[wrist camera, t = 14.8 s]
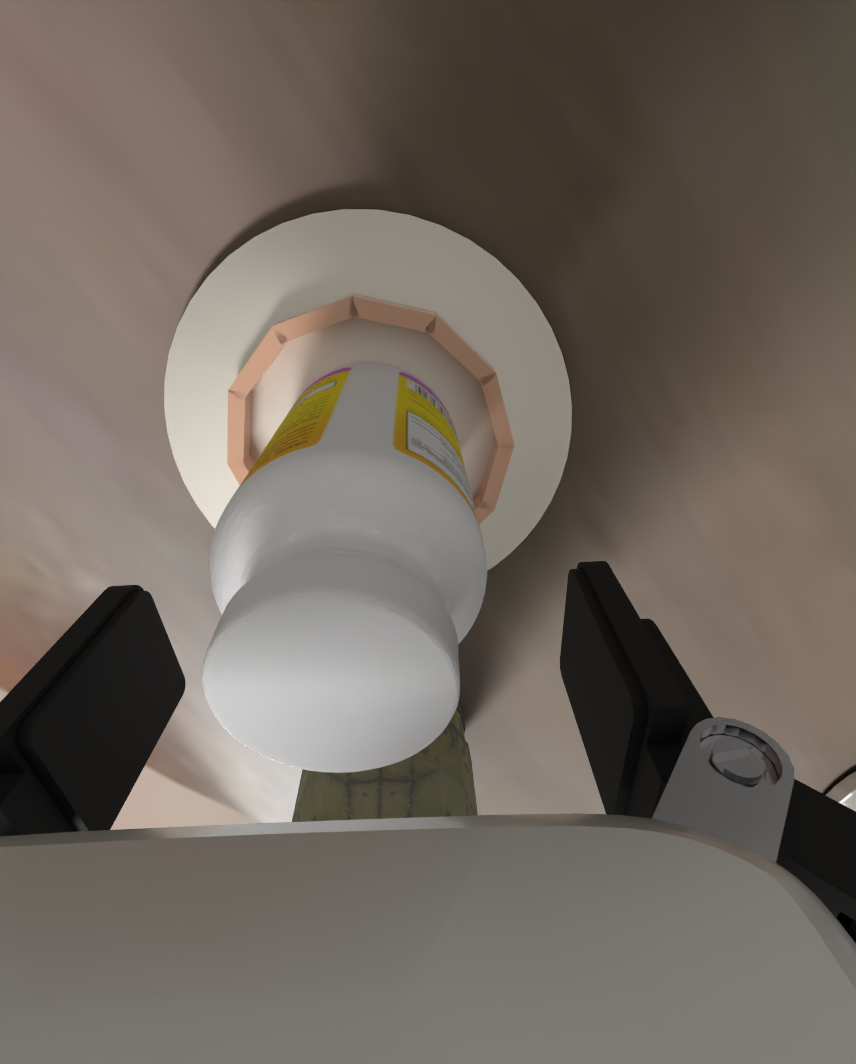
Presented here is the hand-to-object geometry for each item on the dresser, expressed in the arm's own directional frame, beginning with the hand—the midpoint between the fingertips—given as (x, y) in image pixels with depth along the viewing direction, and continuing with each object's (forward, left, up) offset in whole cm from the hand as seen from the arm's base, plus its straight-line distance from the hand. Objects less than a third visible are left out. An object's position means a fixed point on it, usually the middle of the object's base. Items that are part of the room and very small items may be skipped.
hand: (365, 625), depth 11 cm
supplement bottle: (+1, 0, -11) cm, 11 cm away
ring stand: (+1, 0, -11) cm, 11 cm away
